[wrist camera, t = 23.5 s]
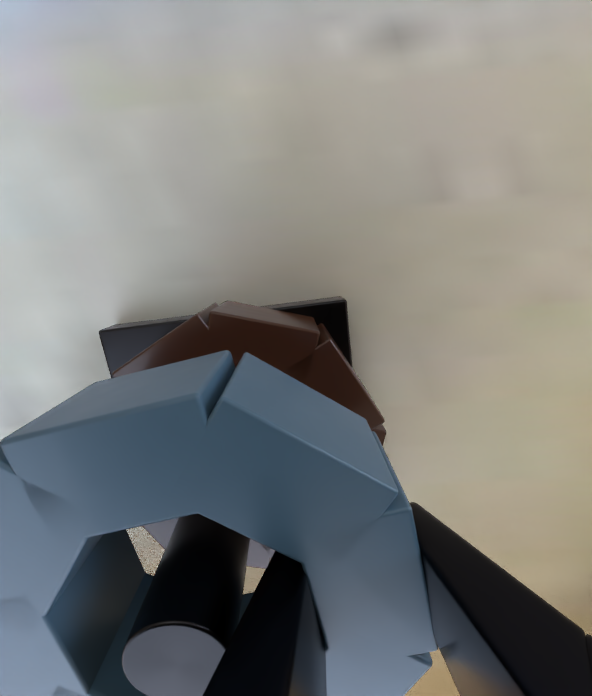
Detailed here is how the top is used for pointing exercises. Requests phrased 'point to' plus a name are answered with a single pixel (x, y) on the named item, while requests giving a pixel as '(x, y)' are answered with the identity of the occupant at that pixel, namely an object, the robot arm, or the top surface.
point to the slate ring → (212, 502)
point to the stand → (195, 550)
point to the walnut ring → (271, 347)
